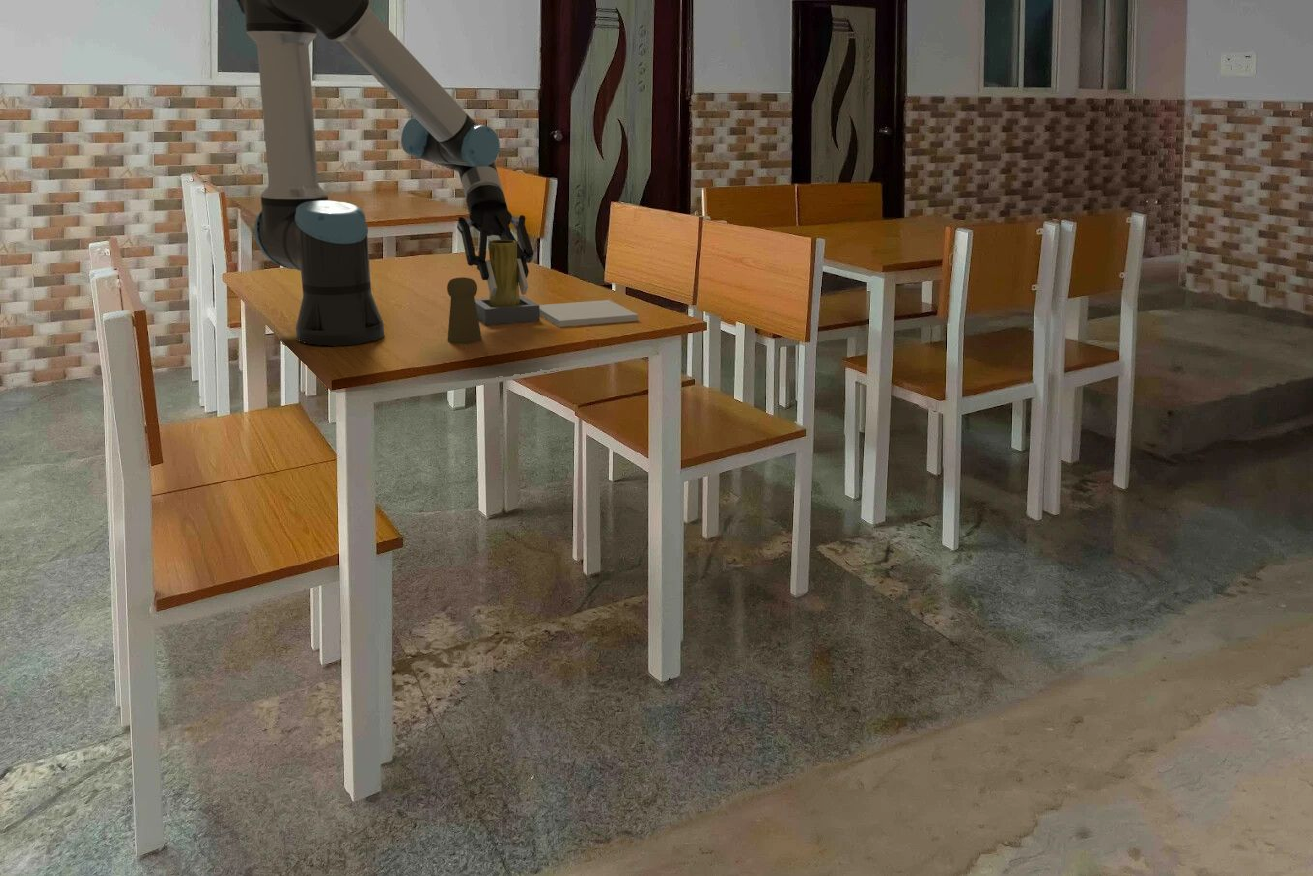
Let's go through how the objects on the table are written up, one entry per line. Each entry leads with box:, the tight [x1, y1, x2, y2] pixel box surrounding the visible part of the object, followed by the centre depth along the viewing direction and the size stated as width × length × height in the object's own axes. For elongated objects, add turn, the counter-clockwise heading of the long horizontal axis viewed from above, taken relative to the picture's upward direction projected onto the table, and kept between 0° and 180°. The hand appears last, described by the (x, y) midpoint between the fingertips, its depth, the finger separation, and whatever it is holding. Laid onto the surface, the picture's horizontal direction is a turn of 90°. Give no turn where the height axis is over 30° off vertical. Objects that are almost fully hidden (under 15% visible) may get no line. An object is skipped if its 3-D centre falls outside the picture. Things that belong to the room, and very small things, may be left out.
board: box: [538, 299, 639, 328], centre depth 218 cm, size 16×16×1 cm
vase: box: [488, 239, 520, 307], centre depth 213 cm, size 6×6×14 cm
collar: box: [475, 295, 541, 326], centre depth 215 cm, size 11×11×3 cm
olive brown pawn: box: [446, 276, 483, 345], centre depth 195 cm, size 6×6×11 cm
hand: (509, 291), depth 211 cm, fingers closed on vase, 5 cm apart
